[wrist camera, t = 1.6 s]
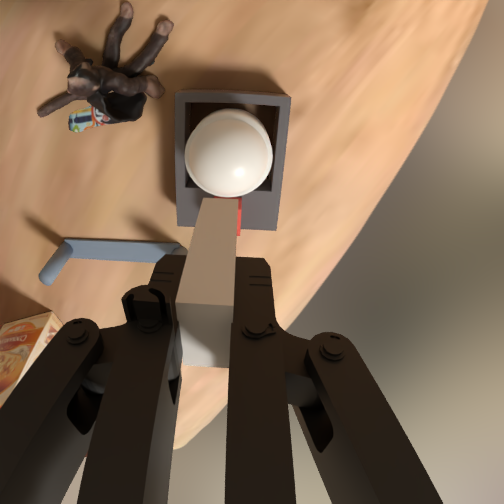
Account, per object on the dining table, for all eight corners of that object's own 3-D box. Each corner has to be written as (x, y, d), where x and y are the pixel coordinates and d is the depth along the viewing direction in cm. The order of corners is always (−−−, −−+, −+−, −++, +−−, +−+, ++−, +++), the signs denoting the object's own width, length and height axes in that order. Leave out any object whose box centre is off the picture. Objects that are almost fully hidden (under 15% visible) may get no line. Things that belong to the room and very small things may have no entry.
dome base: (182, 89, 25) (168, 95, 20) (286, 94, 25) (295, 101, 21) (182, 211, 31) (172, 239, 27) (273, 215, 32) (278, 244, 27)
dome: (192, 106, 24) (177, 120, 18) (272, 110, 24) (280, 124, 19) (192, 179, 27) (178, 210, 22) (265, 182, 27) (270, 214, 22)
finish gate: (59, 238, 32) (35, 268, 27) (187, 243, 33) (178, 279, 28) (64, 255, 34) (42, 287, 29) (188, 263, 35) (180, 299, 30)
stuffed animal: (205, 45, 22) (103, 153, 20) (179, 86, 31) (106, 170, 29) (108, -23, 17) (2, 72, 15) (103, 30, 26) (27, 108, 24)
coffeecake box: (52, 309, 39) (-2, 422, 23) (79, 342, 43) (39, 452, 26) (2, 322, 41) (-45, 411, 25) (26, 350, 45) (-12, 438, 29)
